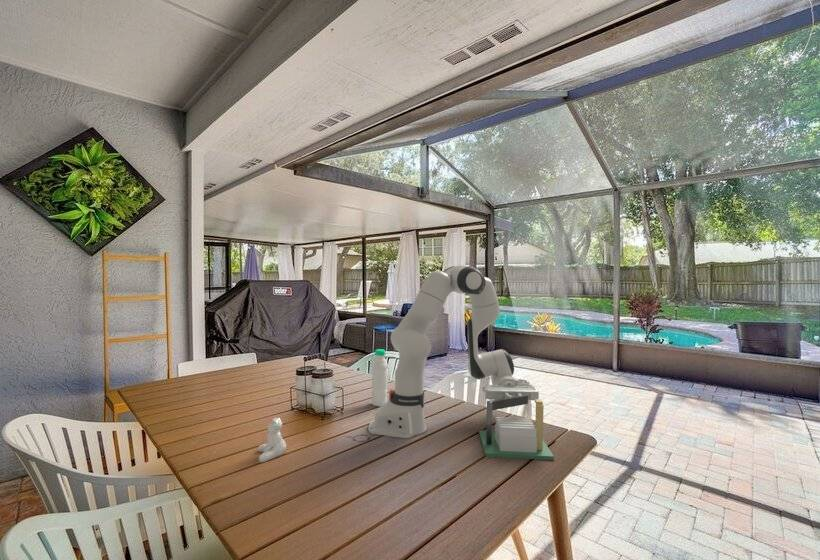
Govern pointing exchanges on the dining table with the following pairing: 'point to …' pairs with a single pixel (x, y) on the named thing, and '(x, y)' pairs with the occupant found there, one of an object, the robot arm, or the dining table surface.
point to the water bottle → (379, 379)
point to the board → (504, 454)
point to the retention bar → (500, 405)
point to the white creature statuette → (273, 442)
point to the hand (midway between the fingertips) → (515, 400)
